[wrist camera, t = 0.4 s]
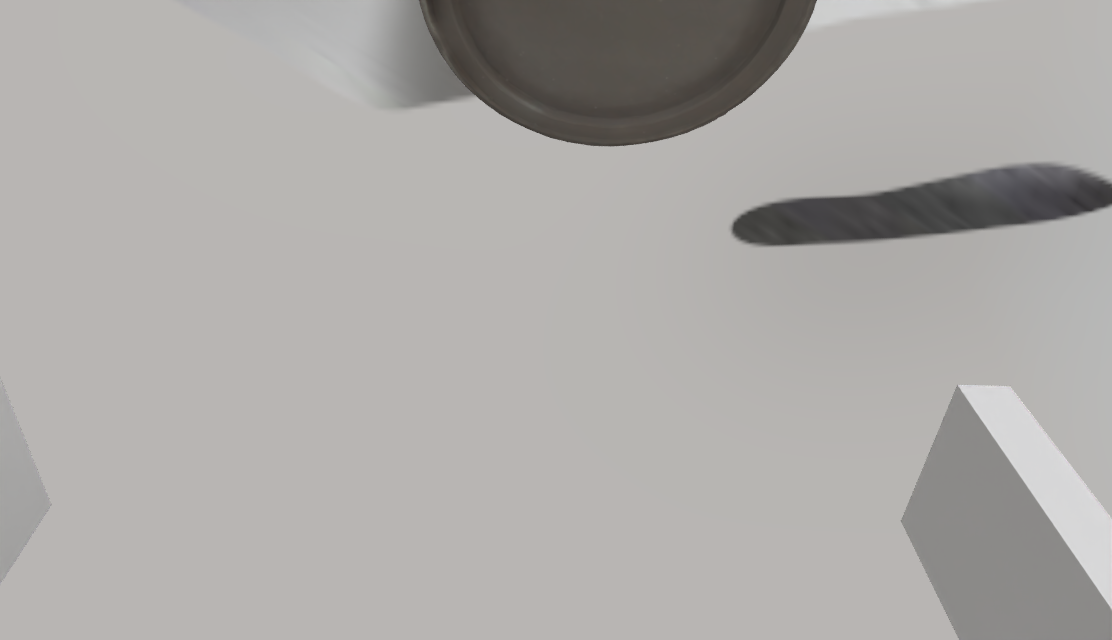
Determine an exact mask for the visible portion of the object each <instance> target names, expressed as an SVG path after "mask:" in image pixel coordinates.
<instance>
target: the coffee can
mask: <svg viewBox="0 0 1112 640" xmlns="http://www.w3.org/2000/svg"><path fill="white" fill-rule="evenodd" d="M419 1H420V5H421V9H422V12H423V15H424V18H425V21H426V24H427V27H428V29H429V31H430V34H431V36H432V38H433V40H434V42H435V44H436V46H437V48H438V50H439V51H440V53H441V55H442V56H443V58H444V59H445V61H446V62H447V64H448V65H449V67H450V68H451V69H452V71H453V72H454V73H455V75H456V76H457V77H458V78H459V79H460V80H461V81H462V83H463V84H464V85H465V86H466V87H467V88H468V89H469V90H470V91H471V92H472V93H474V94H475V95H476V96H477V97H478V98H479V99H480V100H482V101H483V102H484V103H485V104H487V105H488V106H489V107H491V108H492V109H494V110H495V111H496V112H498V113H499V114H501V115H502V116H504V117H506V118H508V119H510V120H511V121H513V122H515V123H517V124H519V125H521V126H523V127H525V128H527V129H530V130H532V131H535V132H537V133H540V134H542V135H545V136H548V137H550V138H554V139H558V140H563V141H566V142H571V143H578V144H585V145H591V146H624V145H634V144H642V143H648V142H654V141H658V140H663V139H667V138H671V137H674V136H678V135H681V134H684V133H688V132H690V131H692V130H694V129H697V128H699V127H701V126H704V125H706V124H708V123H710V122H712V121H714V120H716V119H717V118H718V117H721V116H723V115H725V114H726V113H727V112H728V111H730V110H731V109H733V108H734V107H736V106H737V105H739V104H740V103H742V102H743V101H745V100H746V99H747V98H748V97H749V96H751V95H752V94H753V93H754V92H755V91H756V90H757V89H758V88H759V87H761V86H762V85H763V84H764V83H765V82H766V81H767V80H768V79H769V78H770V77H771V76H772V75H773V74H774V72H775V71H777V70H778V68H779V67H780V66H781V64H782V63H783V62H784V61H785V60H786V58H787V57H788V56H789V54H790V53H791V52H792V50H793V49H794V47H795V46H796V44H797V42H798V41H799V39H800V37H801V36H802V34H803V32H804V30H805V28H806V26H807V24H808V22H809V20H810V18H811V15H812V13H813V10H814V7H815V3H816V1H817V0H419Z"/></svg>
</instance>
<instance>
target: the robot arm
mask: <svg viewBox="0 0 1112 640" xmlns="http://www.w3.org/2000/svg"><path fill="white" fill-rule="evenodd" d="M50 506H51V502H50V500H49V497H48V495H47V493H46V490H45V487H44V485H43V483H42V480H41V478H40V475H39V472H38V470H37V468H36V465H35V463H34V460H33V458H32V455H31V453H30V450H29V448H28V445H27V443H26V440H25V438H24V435H23V433H22V431H21V428H20V425H19V423H18V420H17V418H16V415H15V413H14V411H13V408H12V405H11V403H10V400H9V398H8V395H7V393H6V390H5V388H4V386H3V383H2V381H1V378H0V584H1V582H2V581H3V579H4V578H5V576H6V574H7V573H8V572H9V570H10V568H11V567H12V565H13V564H14V562H15V561H16V559H17V557H18V556H19V555H20V553H21V551H22V550H23V548H24V547H25V545H26V544H27V542H28V541H29V539H30V537H31V536H32V534H33V533H34V531H35V530H36V528H37V527H38V525H39V523H40V522H41V520H42V519H43V517H44V516H45V514H46V512H47V511H48V509H49V508H50ZM901 522H902V524H903V526H904V528H905V530H906V532H907V534H908V536H909V538H910V540H911V542H912V544H913V547H914V549H915V551H916V552H917V555H918V557H919V559H920V561H921V563H922V565H923V567H924V569H925V571H926V573H927V575H928V577H929V579H930V581H931V583H932V585H933V587H934V589H935V591H936V594H937V596H938V598H939V599H940V602H941V604H942V606H943V608H944V610H945V612H946V614H947V616H948V618H949V620H950V622H951V624H952V626H953V628H954V630H955V632H956V634H957V636H958V638H959V640H1112V518H1111V517H1110V516H1109V514H1108V513H1107V512H1106V510H1105V509H1104V508H1103V506H1102V505H1101V504H1100V503H1099V501H1098V500H1097V499H1096V498H1095V496H1094V495H1093V494H1092V492H1091V491H1090V490H1089V488H1088V487H1087V486H1086V485H1085V483H1084V482H1083V480H1082V479H1081V478H1080V477H1079V475H1078V474H1077V473H1076V472H1075V470H1074V469H1073V468H1072V466H1071V465H1070V464H1069V462H1068V461H1067V460H1066V458H1065V457H1064V456H1063V455H1062V453H1061V452H1060V451H1059V449H1058V448H1057V447H1056V445H1055V444H1054V443H1053V442H1052V440H1051V439H1050V438H1049V436H1048V435H1047V434H1046V433H1045V431H1044V430H1043V429H1042V427H1041V426H1040V425H1039V423H1038V422H1037V421H1036V420H1035V418H1034V417H1033V416H1032V414H1031V413H1030V412H1029V411H1028V409H1027V408H1026V406H1025V405H1024V404H1023V403H1022V401H1021V400H1020V399H1019V397H1018V396H1017V395H1016V394H1015V392H1014V391H1013V390H1012V388H1011V387H1010V386H975V385H957V387H956V389H955V392H954V394H953V397H952V399H951V402H950V404H949V406H948V409H947V411H946V414H945V416H944V418H943V421H942V423H941V426H940V428H939V431H938V433H937V435H936V438H935V440H934V442H933V445H932V447H931V450H930V452H929V455H928V457H927V459H926V462H925V464H924V467H923V469H922V471H921V474H920V476H919V479H918V481H917V483H916V486H915V488H914V491H913V493H912V496H911V498H910V500H909V503H908V505H907V507H906V510H905V512H904V515H903V517H902V520H901Z"/></svg>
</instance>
